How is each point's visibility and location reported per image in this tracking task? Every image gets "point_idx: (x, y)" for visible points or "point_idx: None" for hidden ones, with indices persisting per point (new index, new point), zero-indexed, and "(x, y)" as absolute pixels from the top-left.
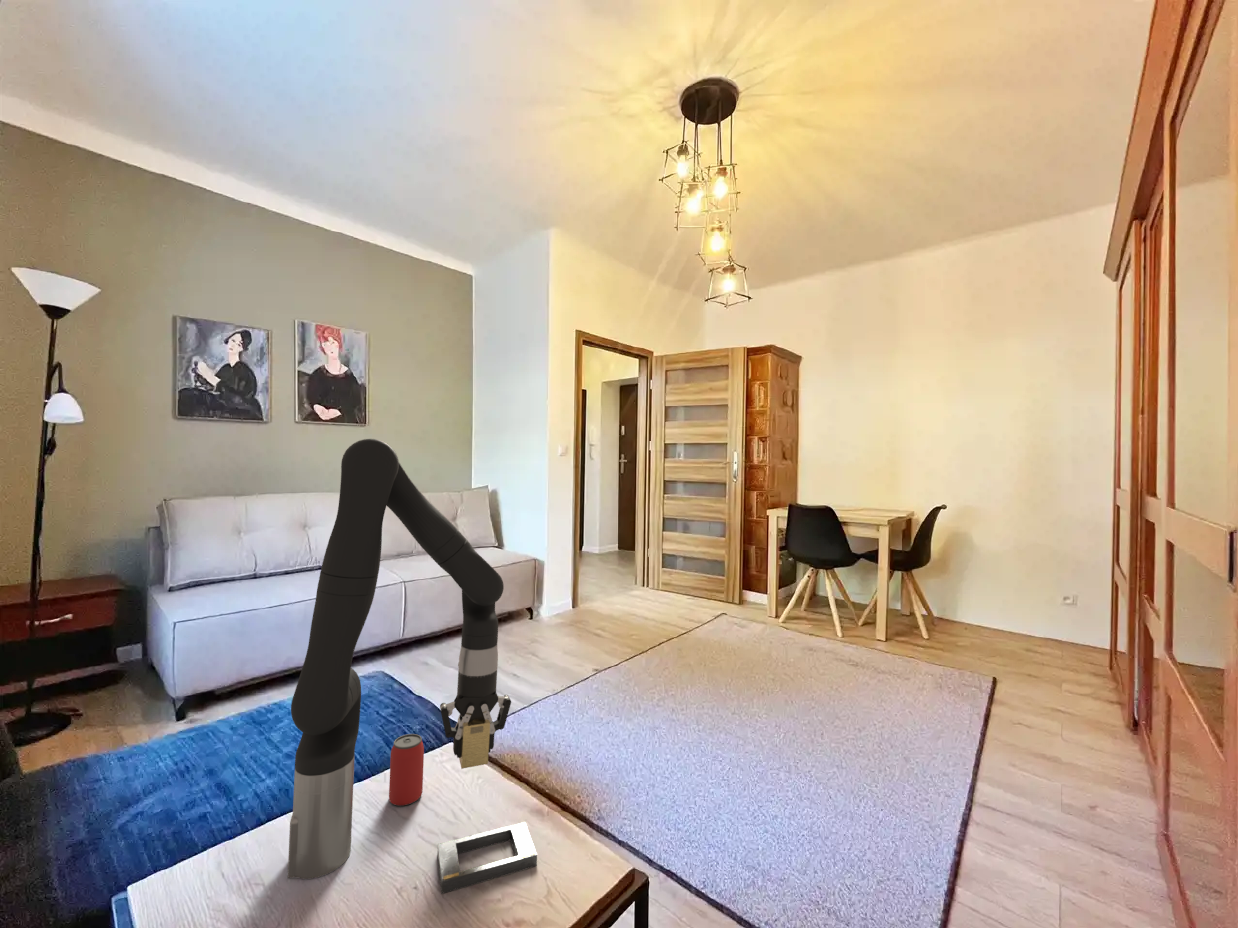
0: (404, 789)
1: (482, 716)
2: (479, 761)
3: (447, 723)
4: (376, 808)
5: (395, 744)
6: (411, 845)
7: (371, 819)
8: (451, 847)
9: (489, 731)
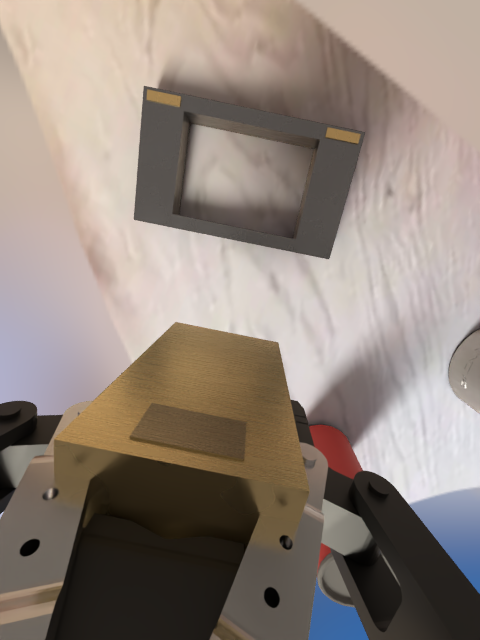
0: (340, 448)
1: (94, 547)
2: (206, 333)
3: (445, 595)
4: (372, 444)
5: None
6: (354, 313)
7: (389, 420)
8: (307, 231)
9: (104, 391)
